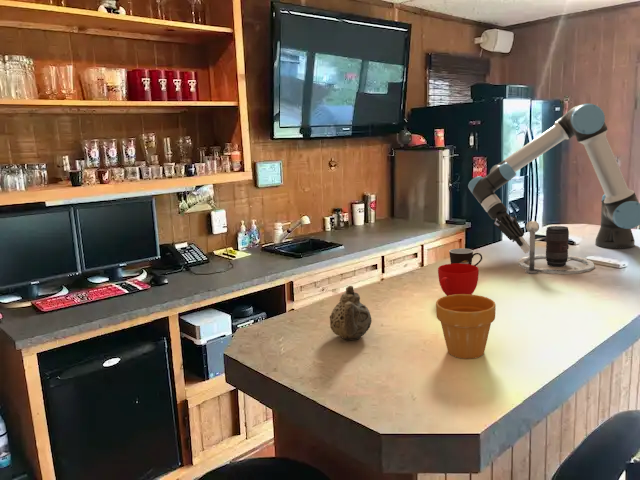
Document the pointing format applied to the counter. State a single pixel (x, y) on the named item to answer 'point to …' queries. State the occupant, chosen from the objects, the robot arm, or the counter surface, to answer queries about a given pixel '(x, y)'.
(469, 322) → the flower pot
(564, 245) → the camera lens
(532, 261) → the metal stand with knob
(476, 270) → the ceramic cup
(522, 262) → the grey flat ring
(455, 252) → the coffee mug
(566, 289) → the counter surface
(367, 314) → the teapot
